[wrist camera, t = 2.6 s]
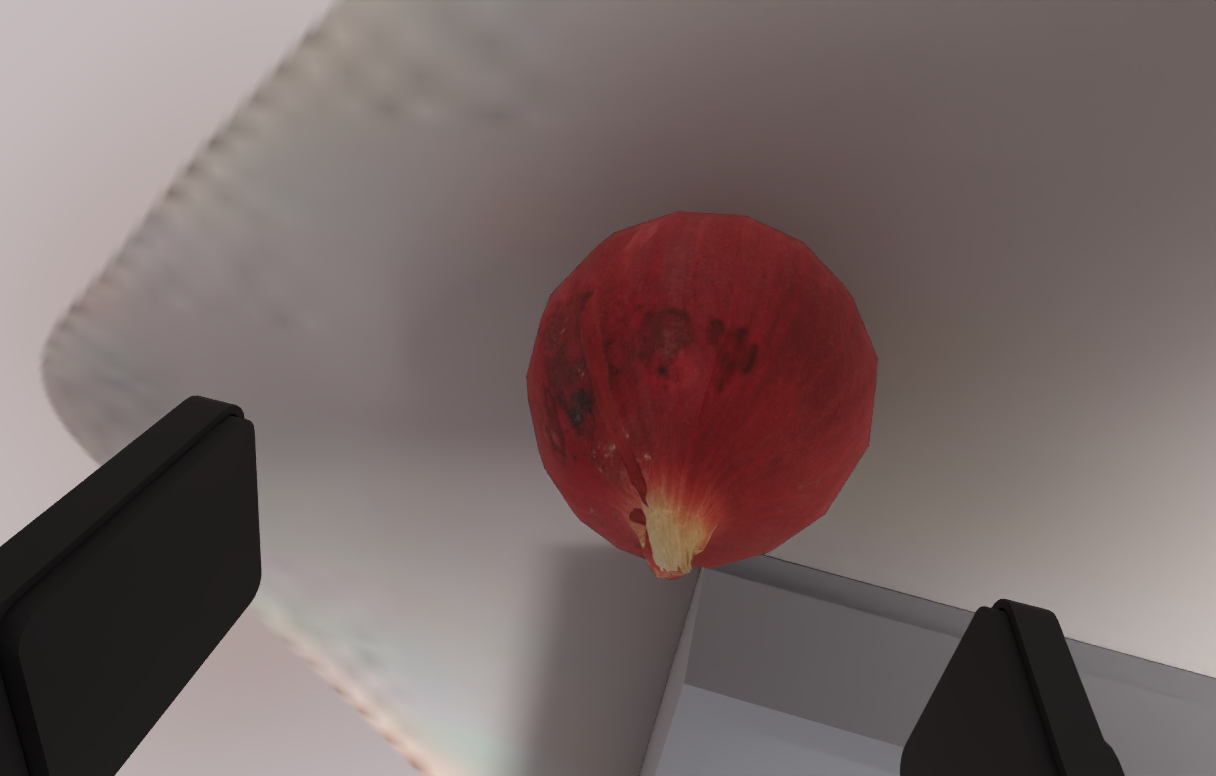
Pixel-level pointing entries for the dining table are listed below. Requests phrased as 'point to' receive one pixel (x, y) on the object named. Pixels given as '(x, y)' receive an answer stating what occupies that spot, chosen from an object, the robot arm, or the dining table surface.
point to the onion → (701, 389)
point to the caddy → (870, 682)
